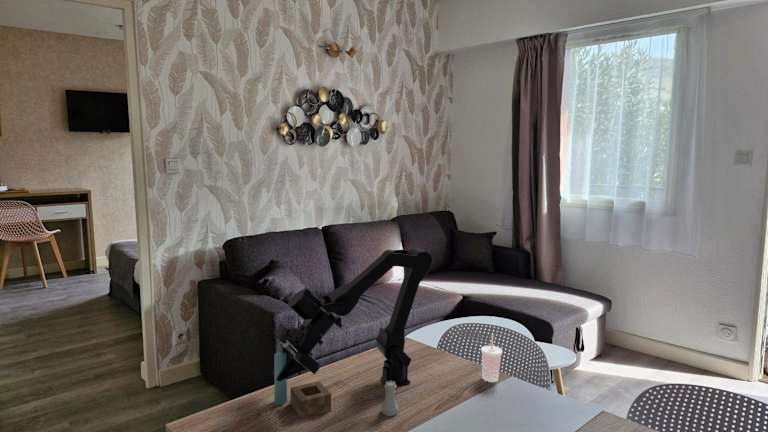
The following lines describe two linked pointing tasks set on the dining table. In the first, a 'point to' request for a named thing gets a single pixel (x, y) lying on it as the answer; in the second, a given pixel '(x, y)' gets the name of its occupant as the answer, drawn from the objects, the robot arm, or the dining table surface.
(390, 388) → the rook chess piece
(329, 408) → the walnut hole block
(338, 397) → the dining table surface
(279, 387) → the teal pin
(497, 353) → the beverage cup
